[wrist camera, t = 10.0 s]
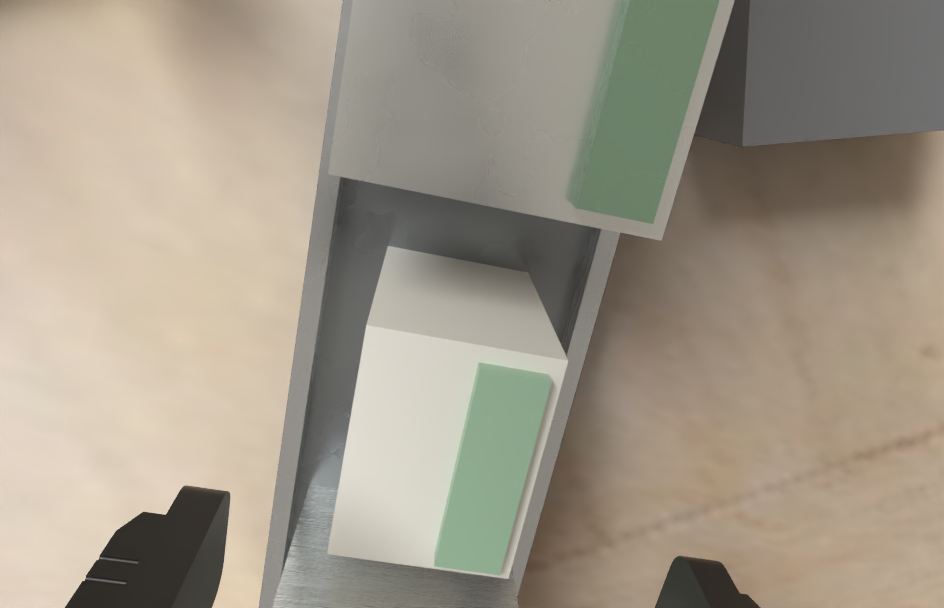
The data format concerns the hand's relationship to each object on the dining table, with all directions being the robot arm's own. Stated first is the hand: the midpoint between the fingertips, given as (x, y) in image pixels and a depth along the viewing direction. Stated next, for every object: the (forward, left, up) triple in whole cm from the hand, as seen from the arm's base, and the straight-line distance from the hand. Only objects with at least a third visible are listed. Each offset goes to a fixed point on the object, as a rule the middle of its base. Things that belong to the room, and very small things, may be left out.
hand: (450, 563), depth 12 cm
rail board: (0, 0, -12) cm, 12 cm away
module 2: (-12, +9, -13) cm, 19 cm away
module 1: (0, 0, -11) cm, 11 cm away
